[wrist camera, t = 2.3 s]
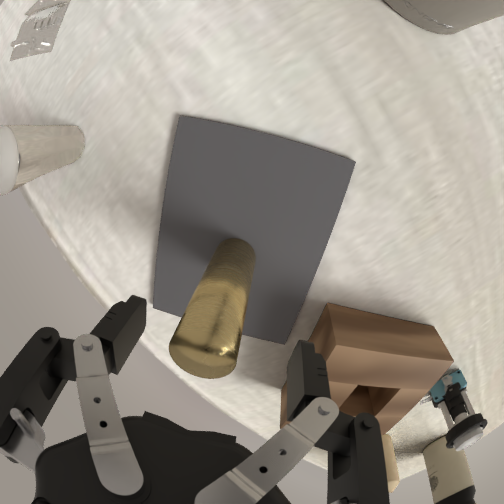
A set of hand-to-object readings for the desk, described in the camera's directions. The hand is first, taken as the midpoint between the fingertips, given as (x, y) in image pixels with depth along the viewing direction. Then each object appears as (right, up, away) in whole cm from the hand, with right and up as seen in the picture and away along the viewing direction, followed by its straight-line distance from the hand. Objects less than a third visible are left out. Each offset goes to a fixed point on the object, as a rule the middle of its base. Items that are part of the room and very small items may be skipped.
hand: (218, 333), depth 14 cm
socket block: (+12, -7, +11) cm, 18 cm away
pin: (+1, +4, +7) cm, 8 cm away
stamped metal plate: (-19, +26, 0) cm, 33 cm away
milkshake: (-13, +13, +5) cm, 20 cm away
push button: (+25, -12, +12) cm, 30 cm away
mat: (+1, +5, +7) cm, 8 cm away
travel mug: (+38, -33, +20) cm, 54 cm away
